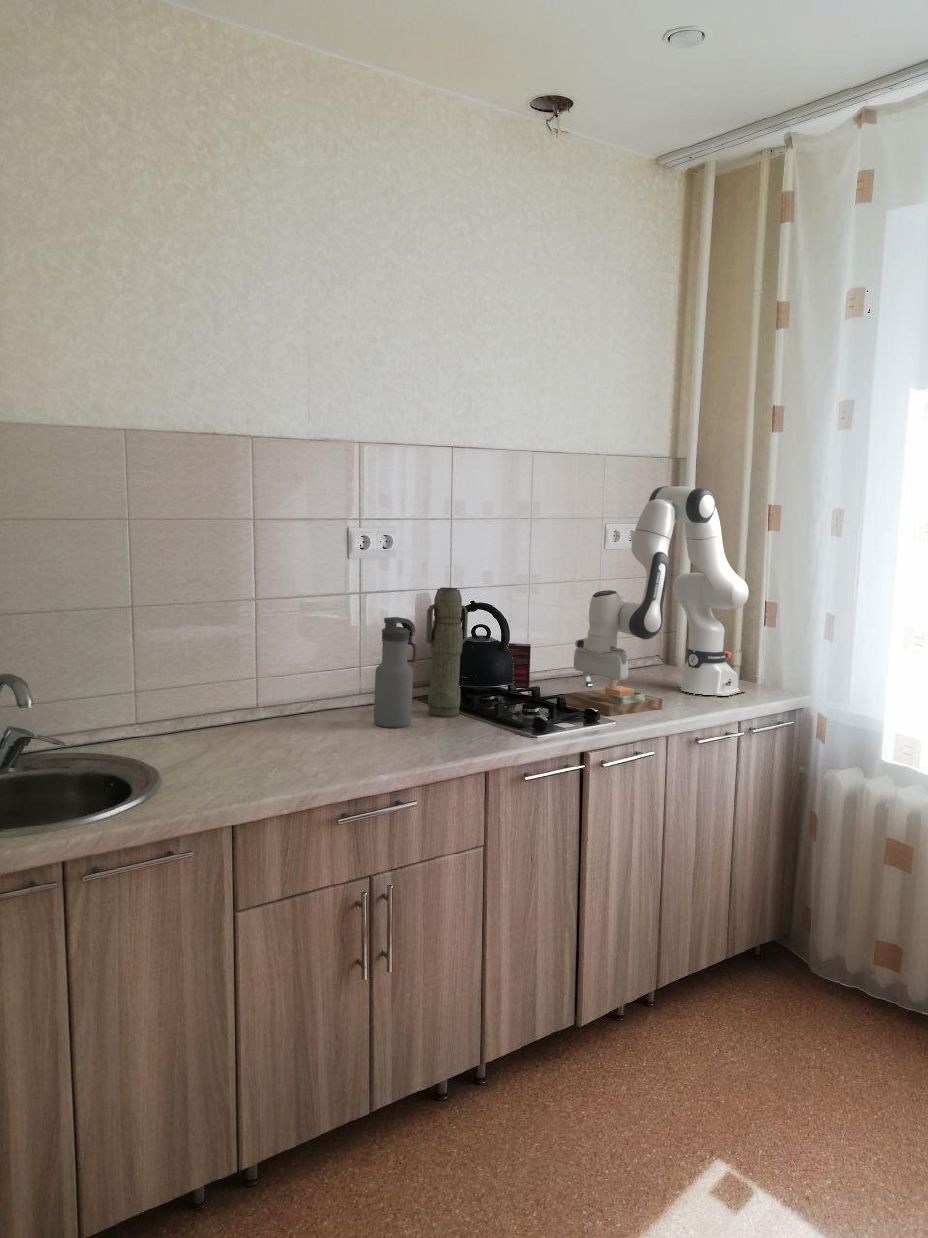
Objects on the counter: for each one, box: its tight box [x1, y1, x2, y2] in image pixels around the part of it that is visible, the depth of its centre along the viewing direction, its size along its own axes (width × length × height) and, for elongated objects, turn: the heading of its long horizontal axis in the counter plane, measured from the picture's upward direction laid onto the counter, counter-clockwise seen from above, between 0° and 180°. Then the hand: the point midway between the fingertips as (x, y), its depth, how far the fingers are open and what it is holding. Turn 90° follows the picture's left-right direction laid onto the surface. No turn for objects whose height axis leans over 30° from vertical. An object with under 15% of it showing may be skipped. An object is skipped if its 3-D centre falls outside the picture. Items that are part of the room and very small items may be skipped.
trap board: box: [563, 688, 663, 717], centre depth 276 cm, size 22×19×5 cm
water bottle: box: [373, 616, 418, 729], centre depth 240 cm, size 10×10×28 cm
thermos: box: [425, 586, 469, 719], centre depth 254 cm, size 9×12×35 cm
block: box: [604, 685, 636, 699], centre depth 272 cm, size 6×6×3 cm
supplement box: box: [508, 642, 532, 689], centre depth 287 cm, size 9×5×16 cm, turn 84°
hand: (599, 689), depth 279 cm, fingers open, 8 cm apart
